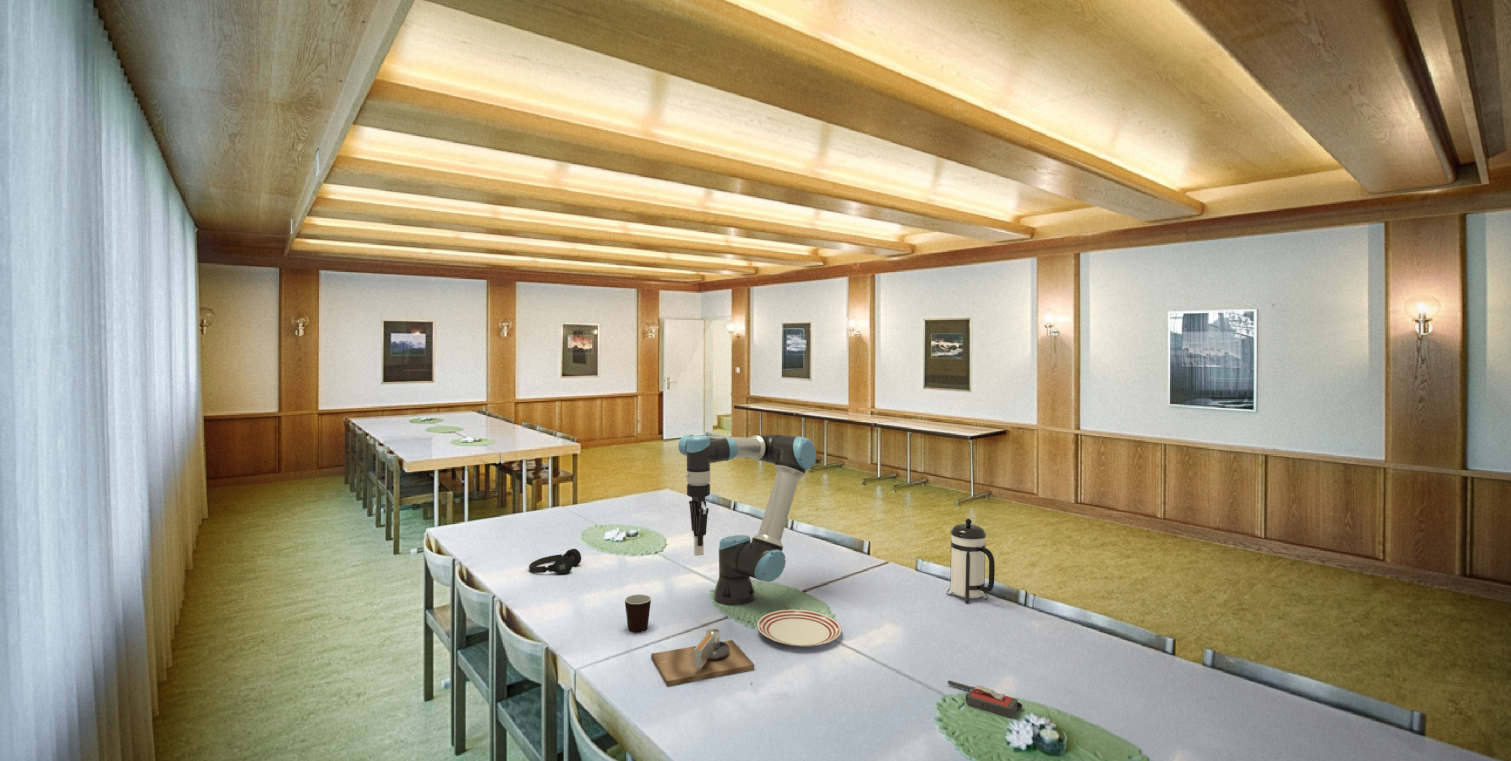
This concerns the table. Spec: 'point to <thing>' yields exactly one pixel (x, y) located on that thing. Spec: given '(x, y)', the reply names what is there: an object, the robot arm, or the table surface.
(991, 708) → the walkie-talkie
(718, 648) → the lever handle
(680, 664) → the board
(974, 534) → the coffee press
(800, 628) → the dinner plate
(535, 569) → the headphones
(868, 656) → the table surface
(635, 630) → the coffee mug
